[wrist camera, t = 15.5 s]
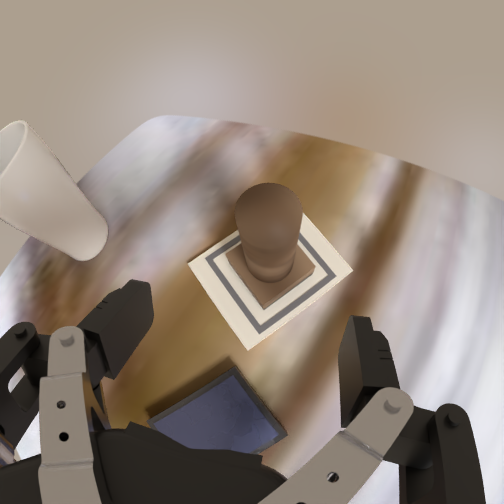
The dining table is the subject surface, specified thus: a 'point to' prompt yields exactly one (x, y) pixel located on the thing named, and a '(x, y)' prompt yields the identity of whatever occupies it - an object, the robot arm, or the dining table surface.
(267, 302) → the stamp
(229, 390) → the ink pad
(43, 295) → the dining table surface
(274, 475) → the robot arm
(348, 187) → the dining table surface
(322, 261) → the label card
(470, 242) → the dining table surface
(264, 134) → the dining table surface
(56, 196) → the drinking glass
